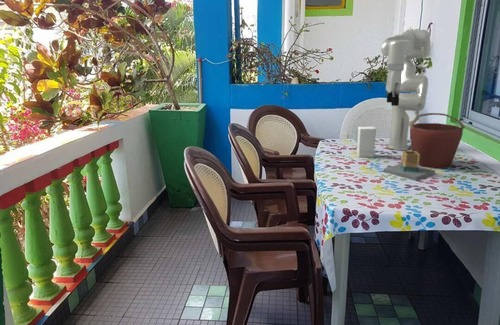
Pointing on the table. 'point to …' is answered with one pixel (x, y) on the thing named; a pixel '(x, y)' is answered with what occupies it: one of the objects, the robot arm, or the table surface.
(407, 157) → the wooden sleeve
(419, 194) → the table surface
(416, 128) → the bucket
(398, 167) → the pin board
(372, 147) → the skincare box
